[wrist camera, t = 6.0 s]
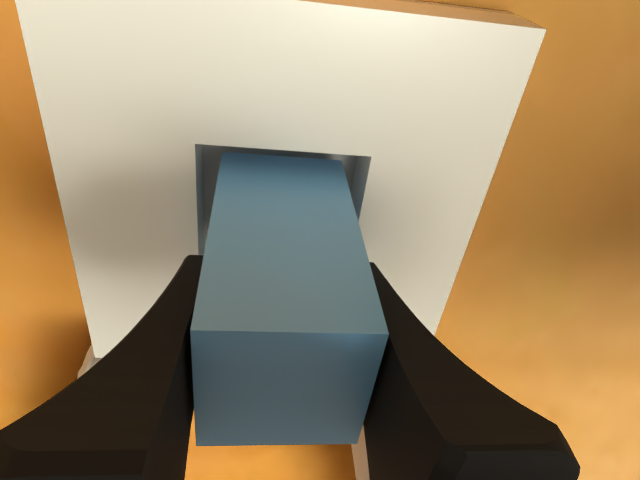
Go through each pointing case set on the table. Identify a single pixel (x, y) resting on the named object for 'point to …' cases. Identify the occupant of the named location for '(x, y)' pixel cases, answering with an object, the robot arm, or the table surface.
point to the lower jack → (269, 127)
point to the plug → (284, 308)
